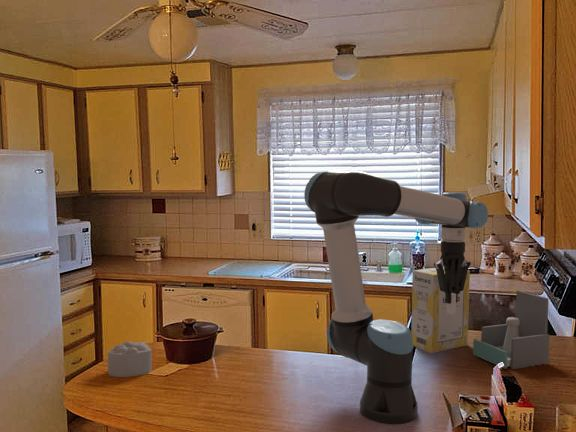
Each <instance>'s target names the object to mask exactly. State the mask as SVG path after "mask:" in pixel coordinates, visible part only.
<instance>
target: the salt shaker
mask: <svg viewBox="0 0 576 432" xmlns="http://www.w3.org/2000/svg"><path fill="white" fill-rule="evenodd" d="M505 324H507V325H508V328H507V332H506V337H505V341H504V345H503V350H504V351H506V352H507V356H509V357H511V343H512V338H518V337H519V330H518V326H519V324H520V320H519V319H518V318H516V316H514V317H513V316H511V317H510V316H509V317H507V318H506V320H505Z"/></svg>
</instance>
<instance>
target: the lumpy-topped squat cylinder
mask: <svg viewBox="0 0 576 432" xmlns="http://www.w3.org/2000/svg"><path fill="white" fill-rule="evenodd" d="M152 358H153V357H152V348H151V347H150V346H149V345H148V343H144V342H143V341H137V342H133V341H130V340H128V341H124V342H123V343H121V344H117V345H115V346H114V347H113V348H111V349H109V350H108V351H107V373H108V374H107V375H108V376H110V377H113V378H114V377H115V378H131V377H137V376H143V375H146V374H150V373H151V372H152V369H153V366H152V365H153V364H152V362H153V361H152V360H153V359H152Z"/></svg>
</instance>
